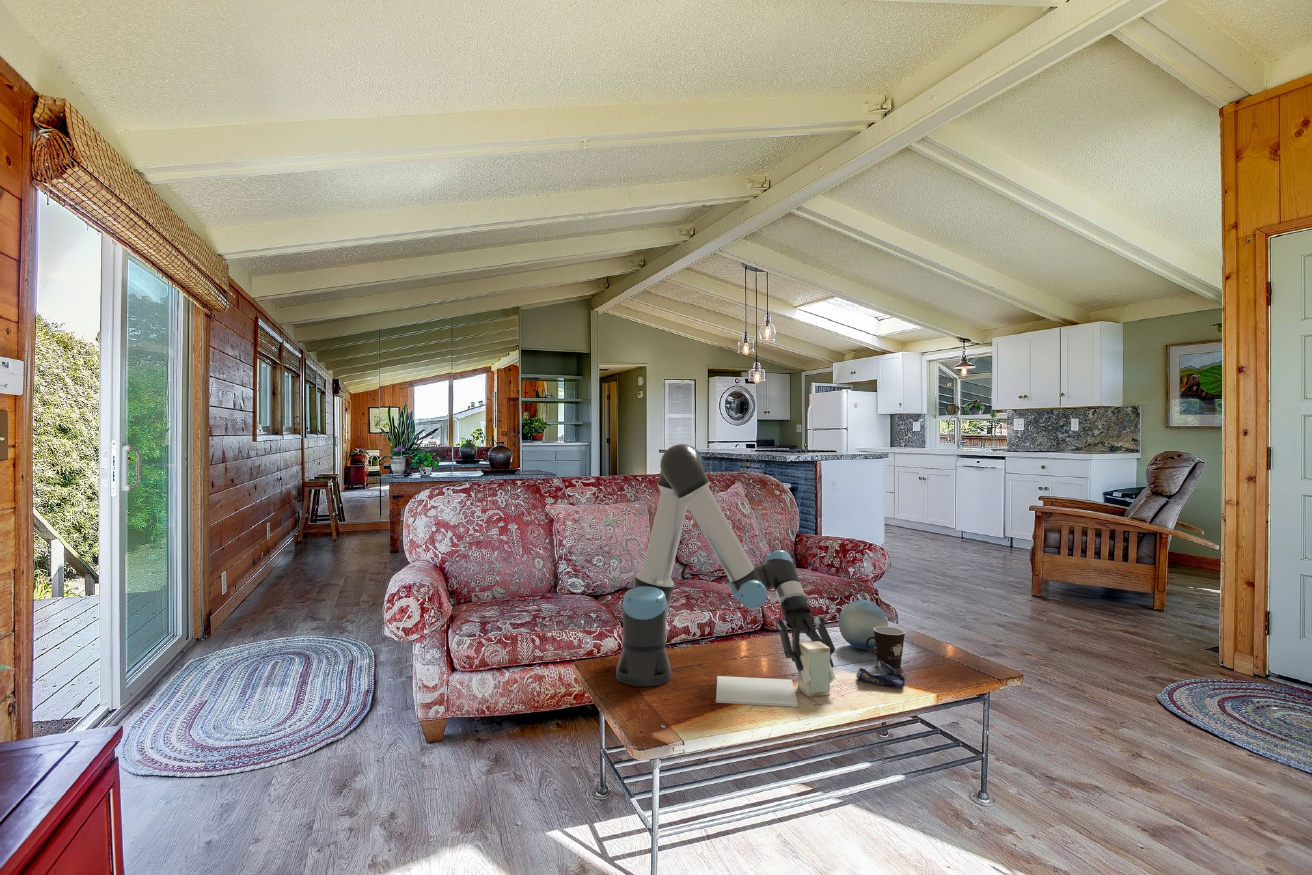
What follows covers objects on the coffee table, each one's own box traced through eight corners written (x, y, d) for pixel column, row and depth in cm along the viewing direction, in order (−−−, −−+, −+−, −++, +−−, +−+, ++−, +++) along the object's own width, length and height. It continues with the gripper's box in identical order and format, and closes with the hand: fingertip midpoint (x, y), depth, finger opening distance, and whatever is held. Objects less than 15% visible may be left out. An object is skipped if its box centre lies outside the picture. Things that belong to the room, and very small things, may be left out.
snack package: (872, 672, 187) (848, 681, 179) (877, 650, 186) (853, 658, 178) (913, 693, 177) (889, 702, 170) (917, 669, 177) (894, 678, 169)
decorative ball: (898, 650, 205) (898, 602, 205) (865, 658, 197) (866, 608, 197) (860, 638, 218) (860, 593, 218) (828, 645, 210) (828, 598, 210)
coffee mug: (900, 660, 196) (900, 626, 196) (908, 670, 188) (908, 635, 188) (860, 658, 197) (860, 625, 197) (866, 668, 189) (866, 633, 189)
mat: (715, 702, 163) (715, 699, 163) (717, 678, 180) (717, 675, 180) (798, 706, 161) (798, 704, 161) (791, 681, 178) (791, 679, 178)
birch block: (808, 697, 167) (809, 649, 167) (797, 687, 173) (798, 642, 173) (830, 695, 169) (830, 648, 169) (818, 686, 175) (818, 640, 175)
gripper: (819, 607, 188) (848, 684, 172) (757, 610, 184) (781, 690, 168) (828, 592, 183) (859, 671, 167) (764, 595, 179) (790, 677, 163)
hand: (820, 680), depth 168 cm, fingers closed on birch block, 6 cm apart
